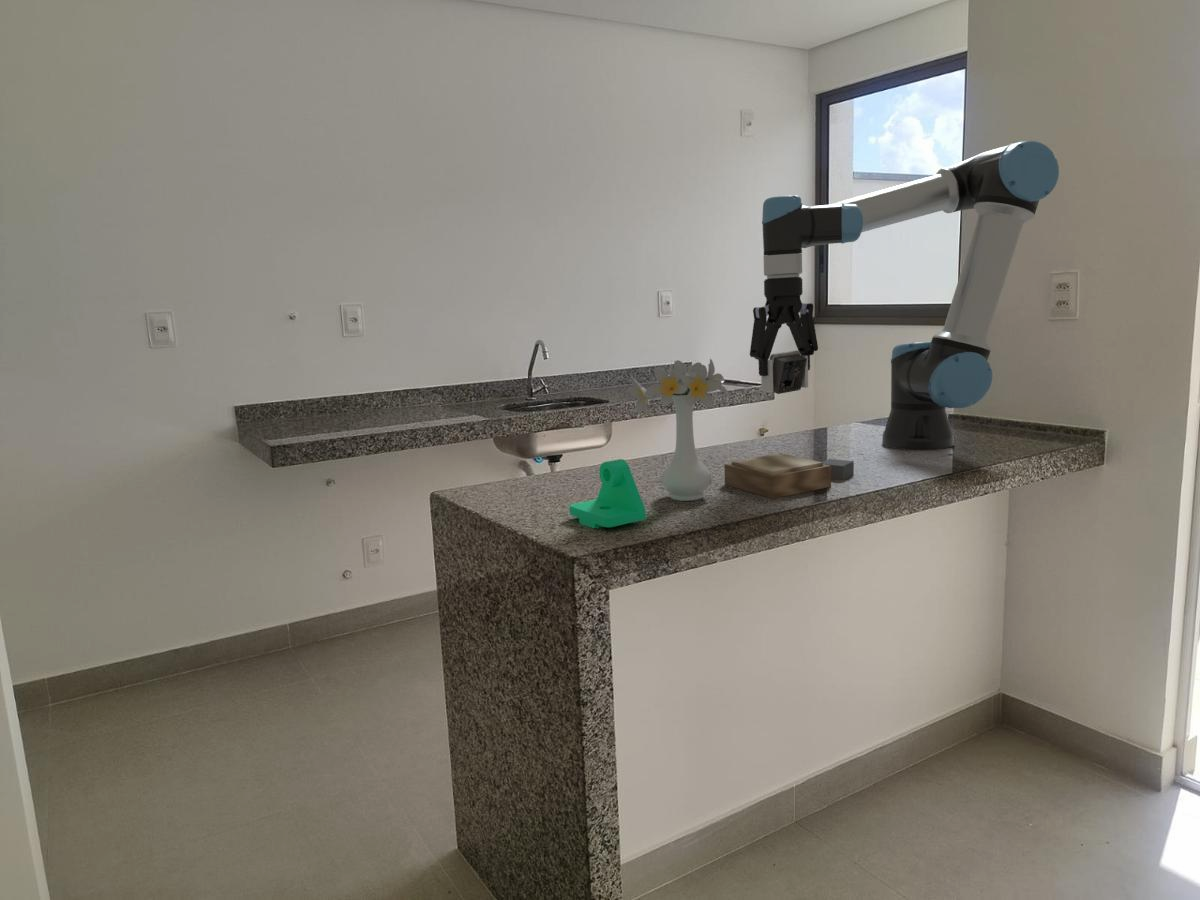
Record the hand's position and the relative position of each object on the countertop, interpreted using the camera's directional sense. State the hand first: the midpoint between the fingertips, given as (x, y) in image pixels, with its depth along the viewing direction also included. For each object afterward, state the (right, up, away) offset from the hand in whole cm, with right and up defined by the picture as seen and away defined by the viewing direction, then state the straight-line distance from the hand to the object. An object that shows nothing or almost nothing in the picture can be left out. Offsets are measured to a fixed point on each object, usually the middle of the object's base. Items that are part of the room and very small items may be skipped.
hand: (785, 389), depth 176 cm
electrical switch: (0, -1, 0) cm, 1 cm away
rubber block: (+8, -18, -7) cm, 21 cm away
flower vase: (-22, -21, -19) cm, 36 cm away
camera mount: (-37, -25, -32) cm, 55 cm away
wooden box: (-4, -19, -13) cm, 24 cm away
